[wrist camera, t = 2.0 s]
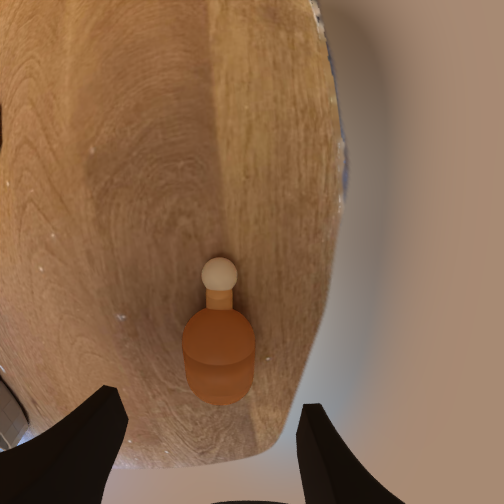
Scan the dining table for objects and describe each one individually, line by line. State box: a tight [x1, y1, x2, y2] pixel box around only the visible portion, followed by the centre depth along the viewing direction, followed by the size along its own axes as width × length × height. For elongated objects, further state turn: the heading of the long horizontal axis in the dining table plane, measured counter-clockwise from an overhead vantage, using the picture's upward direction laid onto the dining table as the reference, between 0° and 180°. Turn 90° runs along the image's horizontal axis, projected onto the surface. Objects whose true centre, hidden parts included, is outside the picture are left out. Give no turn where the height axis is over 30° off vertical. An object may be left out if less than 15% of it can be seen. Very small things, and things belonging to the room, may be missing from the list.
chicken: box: [182, 257, 255, 405], centre depth 13 cm, size 8×3×3 cm, turn 178°
